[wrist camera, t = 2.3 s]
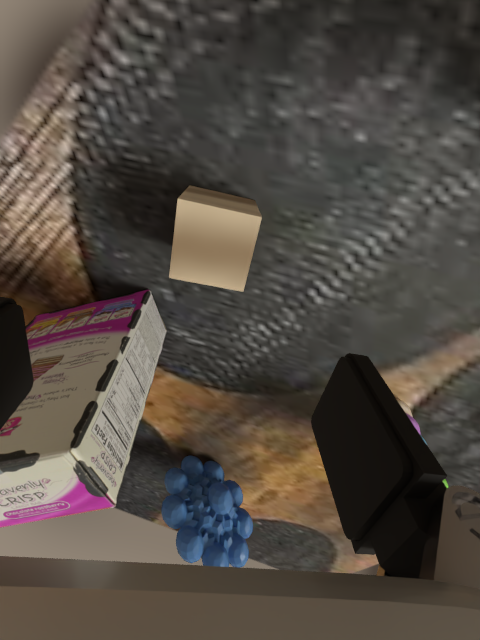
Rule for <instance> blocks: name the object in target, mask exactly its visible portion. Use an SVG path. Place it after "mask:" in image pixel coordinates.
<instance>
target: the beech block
mask: <svg viewBox="0 0 480 640" xmlns="http://www.w3.org/2000/svg"><path fill="white" fill-rule="evenodd" d="M261 219H262V216H261V214H260V212H259V209H258V207H257V204H256V202H255V200H251V199H247V198H243V197H238V196H234V195H230V194H225V193H221V192H217V191H212V190H208V189H204V188H199V187H195V186H191V185H189V187H188V188H187V189H186V190H185V191H184V192H183V193H182V194H181V195H180V196H179V198H178V200H177V209H176V219H175V228H174V237H173V246H172V256H171V265H170V274H169V278H173V279H178V280H183V281H189V282H194V283H199V284H205V285H210V286H215V287H221V288H226V289H231V290H237V291H242V292H243V291H244V287H245V283H246V279H247V275H248V271H249V267H250V263H251V259H252V255H253V251H254V247H255V243H256V239H257V235H258V231H259V227H260V223H261Z"/></svg>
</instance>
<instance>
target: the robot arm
mask: <svg viewBox="0 0 480 640" xmlns="http://www.w3.org/2000/svg"><path fill="white" fill-rule="evenodd" d="M33 382H34V378H33V372H32V365H31V359H30V353H29V347H28V340H27V334H26V328H25V321H24V315H23V310H22V307H21V306H19V305H17V304H16V302H15V301H14V300H13V299H11V298H4V297H0V430H1V428H2V427H3V426H4V424H5V423H6V422H7V421H8V419H9V418H10V417H11V416H12V414H13V413H14V412H15V410H16V409H17V408H18V407H19V405H20V404H21V403H22V402H23V400H24V399H25V398H26V396H27V395H28V394H29V393H30V391H31V389H32V387H33ZM311 423H312V428H313V432H314V435H315V438H316V442H317V445H318V448H319V452H320V455H321V458H322V461H323V465H324V468H325V471H326V475H327V478H328V481H329V484H330V488H331V491H332V494H333V498H334V501H335V504H336V508H337V511H338V514H339V517H340V521H341V524H342V527H343V531H344V533H345V535H346V537H347V538H348V539H351V542H352V545H353V548H354V551H355V554H372V555H374V554H376V556H377V559H378V562H379V564H380V565H379V568H378V572H377V575H362V574H348V573H330V572H311V571H293V570H275V569H255V568H238V567H218V566H198V565H178V564H157V563H137V562H115V561H94V560H75V559H74V560H73V559H53V558H52V559H51V558H29V557H8V556H0V640H480V494H479V493H477V492H475V491H474V490H472V489H470V488H466V487H463V486H451V487H449V488H446V486H445V484H444V483H443V480H444V479H445V478H446V477H447V475H446V473H445V472H444V470H443V469H442V467H441V466H440V464H439V463H438V461H437V460H436V458H435V457H434V455H433V454H432V452H431V451H430V449H429V448H428V446H427V445H426V443H425V442H424V440H423V439H422V437H421V436H420V434H419V433H418V431H417V430H416V428H415V427H414V425H413V424H412V422H411V421H410V419H409V418H408V416H407V415H406V413H405V411H404V410H403V408H402V407H401V405H400V404H399V402H398V401H397V399H396V398H395V396H394V395H393V393H392V392H391V390H390V389H389V387H388V386H387V384H386V383H385V381H384V380H383V378H382V377H381V375H380V374H379V372H378V371H377V369H376V368H375V366H374V365H373V363H372V362H371V360H370V359H369V358H368V357H367V356H363V355H357V354H351V353H349V354H347V355H346V356H345V357H341V358H340V359H339V361H338V363H337V365H336V367H335V369H334V371H333V373H332V376H331V378H330V380H329V382H328V384H327V386H326V388H325V390H324V392H323V394H322V396H321V398H320V401H319V403H318V405H317V407H316V409H315V411H314V413H313V415H312V421H311Z"/></svg>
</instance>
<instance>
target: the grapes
mask: <svg viewBox="0 0 480 640" xmlns="http://www.w3.org/2000/svg"><path fill="white" fill-rule="evenodd" d="M165 486H166V490H167V491H168V492H169V493H170V494H171V495H170V496H167V497H166V498H165V500H164V501H163V504H162V509H161V510H162V516H163V520H164V521H165V522H166V524H167V525H168V526H169V527H171V528H173V529H178V528H181V529H180V530H179V531H178V533H177V538H176V546H177V550H178V553H179V554H180V556H181V557H182V558H183V559H184V560H185V561H186V562H189V563H193V562H196V561H198V560H199V559H200V558H202V562H203V566H218V567H229V563H230V564H231V565H232V566H233V567H238V568H240V567H243V566H244V565H245V563H246V562H247V560H248V556H249V550H248V546H247V543H246V541H245V539H246V538H249V536H250V535H251V533H252V531H253V522H252V518H251V517H250V515H249V513H248V512H247V511H246V510H245V509H243V508H240V507H239V506H240V505H241V503H242V501H243V494H242V490H241V488H240V487H239V485H238V484H237V483H236V482H235V481H231V480H227V481H224V472H223V469H222V467H221V466H220V464H218V463H217V462H214V461H207V462H205V464H204V465H203V464H202V462H201V461H200V459H198V458H197V457H195V456H191V455H190V456H186V457H185V458H184V459H183V460H182V463H181V469H180V468H172V469H169V470H168V472H167V473H166V475H165Z"/></svg>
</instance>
